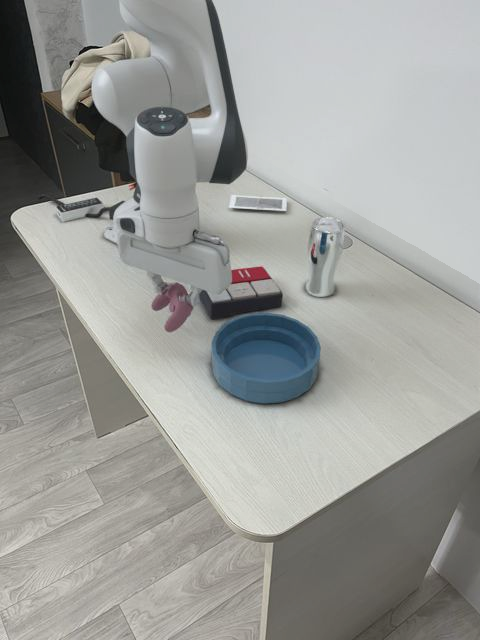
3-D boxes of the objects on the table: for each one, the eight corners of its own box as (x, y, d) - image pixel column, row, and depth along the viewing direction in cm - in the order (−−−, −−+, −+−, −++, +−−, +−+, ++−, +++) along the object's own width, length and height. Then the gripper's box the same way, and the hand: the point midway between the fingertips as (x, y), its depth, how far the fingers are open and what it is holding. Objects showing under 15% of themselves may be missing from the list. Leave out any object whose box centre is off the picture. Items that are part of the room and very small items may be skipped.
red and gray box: (284, 291, 107) (211, 301, 101) (281, 309, 109) (210, 319, 104) (263, 263, 114) (195, 271, 109) (262, 281, 117) (195, 289, 112)
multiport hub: (105, 211, 138) (103, 203, 136) (62, 221, 132) (60, 213, 131) (98, 205, 140) (97, 197, 139) (56, 215, 135) (54, 206, 134)
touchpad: (231, 198, 147) (231, 191, 145) (286, 201, 147) (286, 194, 145) (228, 211, 141) (228, 203, 139) (286, 214, 141) (286, 207, 139)
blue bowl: (191, 379, 91) (190, 356, 88) (245, 323, 104) (245, 301, 101) (289, 419, 85) (291, 397, 82) (333, 354, 98) (336, 333, 95)
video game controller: (188, 336, 93) (200, 300, 91) (164, 333, 91) (175, 296, 88) (172, 311, 101) (182, 277, 98) (148, 308, 99) (158, 272, 96)
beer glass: (334, 300, 111) (344, 235, 102) (301, 295, 112) (308, 230, 103) (337, 282, 117) (347, 218, 107) (305, 278, 117) (313, 214, 108)
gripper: (239, 231, 82) (239, 306, 91) (131, 201, 89) (141, 274, 98) (217, 249, 78) (219, 326, 86) (106, 216, 85) (118, 290, 93)
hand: (177, 298), depth 92 cm, fingers closed on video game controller, 5 cm apart
